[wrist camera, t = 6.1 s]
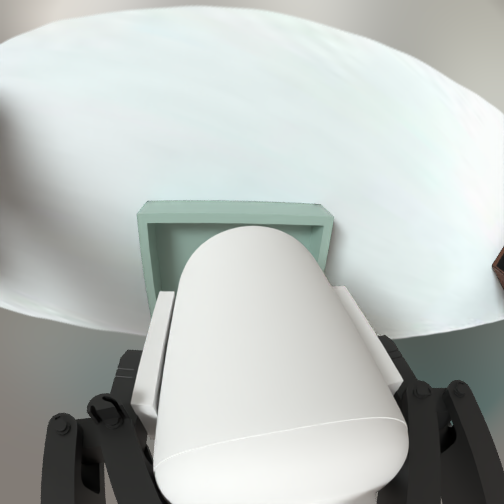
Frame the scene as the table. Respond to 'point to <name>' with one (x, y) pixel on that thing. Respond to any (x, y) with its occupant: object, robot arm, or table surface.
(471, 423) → the robot arm
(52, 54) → the table surface
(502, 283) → the letter holder
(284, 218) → the box
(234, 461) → the pill bottle
